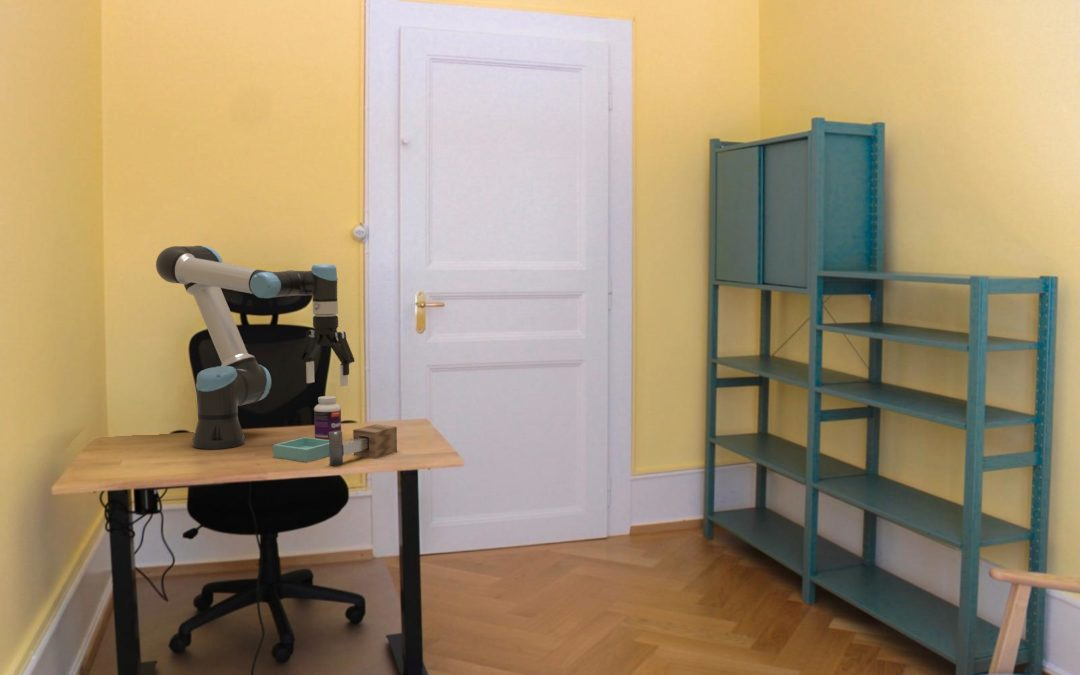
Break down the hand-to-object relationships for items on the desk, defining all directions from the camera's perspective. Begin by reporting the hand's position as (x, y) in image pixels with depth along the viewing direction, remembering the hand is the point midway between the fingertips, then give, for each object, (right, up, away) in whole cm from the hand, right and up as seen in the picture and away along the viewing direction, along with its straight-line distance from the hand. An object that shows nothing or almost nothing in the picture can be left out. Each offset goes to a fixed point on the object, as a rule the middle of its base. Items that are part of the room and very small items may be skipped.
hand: (327, 384), depth 294 cm
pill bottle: (0, -19, +2) cm, 19 cm away
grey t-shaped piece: (+12, -20, -21) cm, 32 cm away
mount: (+17, -20, -12) cm, 29 cm away
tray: (-3, -20, -15) cm, 25 cm away
